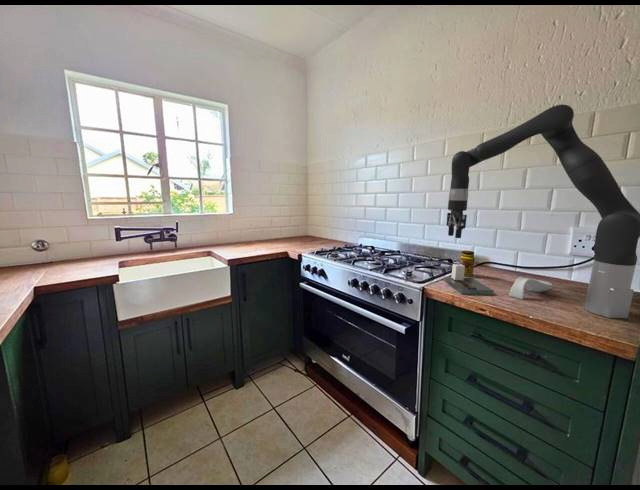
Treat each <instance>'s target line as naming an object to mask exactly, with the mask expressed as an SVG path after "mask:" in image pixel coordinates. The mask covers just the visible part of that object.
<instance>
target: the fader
mask: <svg viewBox="0 0 640 490" xmlns="http://www.w3.org/2000/svg"><path fill="white" fill-rule="evenodd" d="M464 270H465V266H463V265H462V264H460V263H459V264H458V263H455V264H454V263H453V264H452V269H451V276H452V277H451V276H450V278H453V279H454V280H463V279H464V278H465V277H464Z"/></svg>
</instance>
